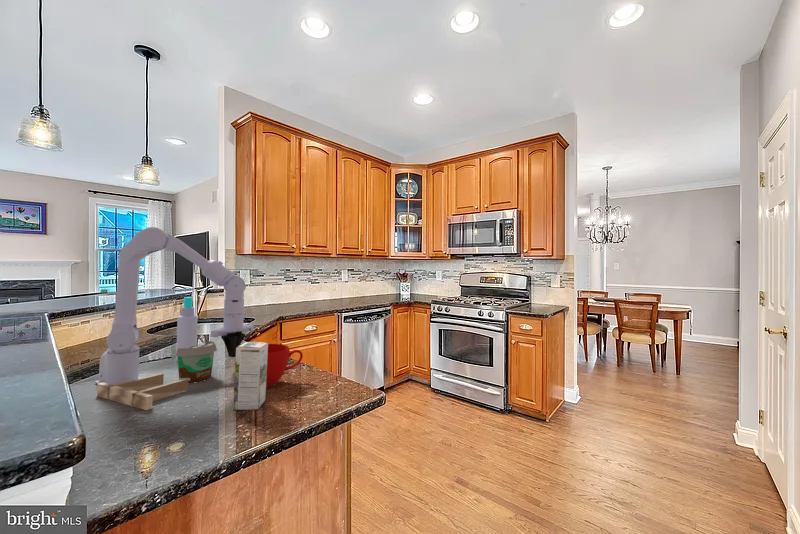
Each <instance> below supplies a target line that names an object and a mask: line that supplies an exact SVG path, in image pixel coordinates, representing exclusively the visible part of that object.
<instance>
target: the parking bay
mask: <svg viewBox="0 0 800 534" xmlns="http://www.w3.org/2000/svg"><path fill="white" fill-rule="evenodd" d="M164 375H165V374H164V373H161V372H160V373H157V374H152V375H150V376H149V375H147V376H145V377H141V378H140V379H135V380H131V381H127V382H123V383H119V384H115V385H111V384H107V383H99V384H97V385H96V386H97V391H96V396H97V397H100V398H103V399H107V400H110V401H113V402H117V403H119V404H123V405H127V406H131V407H134V408H137V409H141V410H144V411H149V410H152V409H153V402H156V401H158V400H159V401H160V400H162V398H163V399H166V398H169V397H172V396H175V395H174V394H176V395H178V394H177V393H179V394H181V393H180V392H182V393H184V392H183V391H185V392H188V391H189V384H188V379H182V380H179V379H178V380H175V381H171V382H168V383H167V382H166V383H165V384H164ZM187 390H188V391H187ZM171 395H172V396H171ZM168 396H169V397H168ZM165 397H166V398H165Z"/></svg>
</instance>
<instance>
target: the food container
mask: <svg viewBox="0 0 800 534" xmlns="http://www.w3.org/2000/svg"><path fill="white" fill-rule="evenodd" d="M176 351H177V352H176V353H175V357H176V356H178V361H177V364H178V367H177V368H178V370H177V371H178V380H182V379H188V383H190V384H195V383H194V382H198V383H201V382H200V381H202V382H205V381H204V380H206V381H208V380H210V379H211V378H212V372H213V364H214V356H215V355H214V354H215V352H217V351H218V350H217V346H216V343H215V341H211V340H207V341H206V343H205V344H201V345H197V346H193V347H190V348H178V349H177V348H176ZM209 378H210V379H209ZM207 379H208V380H207Z"/></svg>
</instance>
